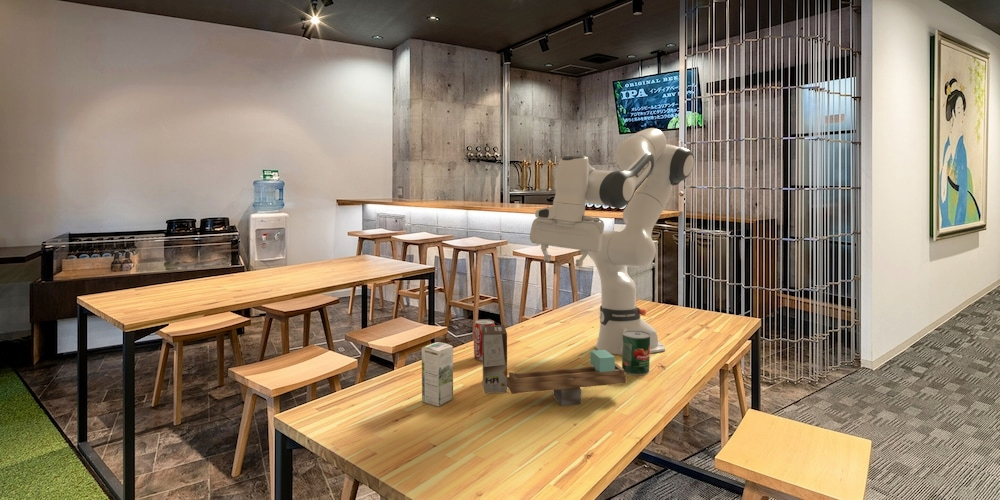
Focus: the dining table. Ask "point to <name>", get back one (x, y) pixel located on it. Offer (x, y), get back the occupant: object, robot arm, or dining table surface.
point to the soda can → (480, 336)
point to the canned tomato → (636, 352)
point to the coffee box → (494, 358)
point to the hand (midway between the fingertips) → (562, 263)
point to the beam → (564, 382)
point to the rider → (602, 360)
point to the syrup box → (437, 373)
